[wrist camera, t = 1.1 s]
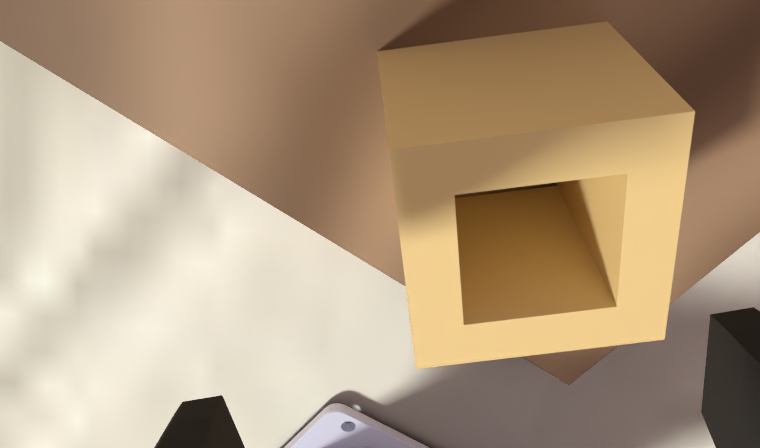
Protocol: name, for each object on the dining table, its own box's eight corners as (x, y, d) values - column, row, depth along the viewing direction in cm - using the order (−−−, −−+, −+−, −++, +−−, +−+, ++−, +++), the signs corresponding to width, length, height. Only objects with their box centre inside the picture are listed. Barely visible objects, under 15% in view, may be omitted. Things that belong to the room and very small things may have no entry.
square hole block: (606, 21, 17) (695, 111, 13) (596, 215, 20) (664, 339, 16) (377, 51, 17) (389, 149, 13) (400, 239, 20) (416, 369, 16)
